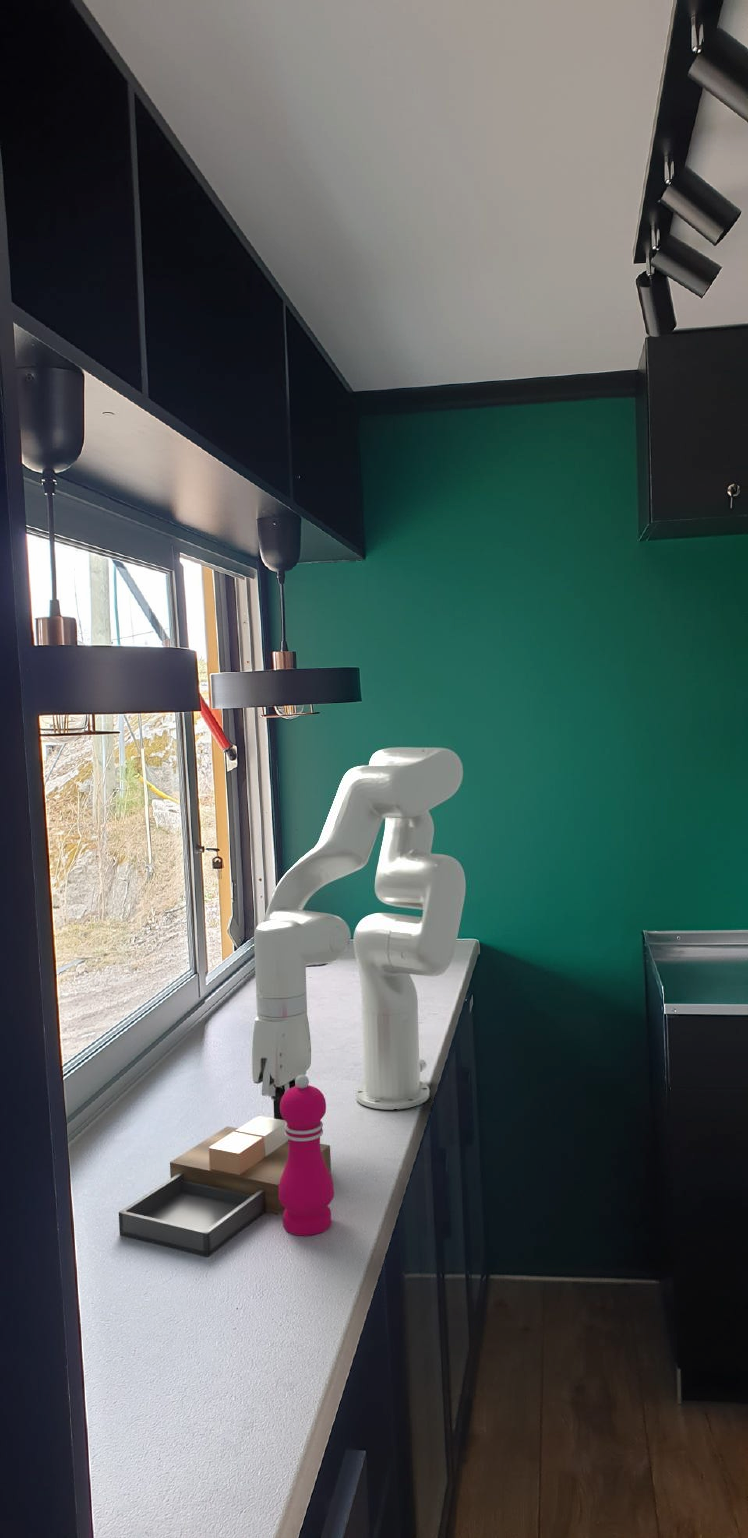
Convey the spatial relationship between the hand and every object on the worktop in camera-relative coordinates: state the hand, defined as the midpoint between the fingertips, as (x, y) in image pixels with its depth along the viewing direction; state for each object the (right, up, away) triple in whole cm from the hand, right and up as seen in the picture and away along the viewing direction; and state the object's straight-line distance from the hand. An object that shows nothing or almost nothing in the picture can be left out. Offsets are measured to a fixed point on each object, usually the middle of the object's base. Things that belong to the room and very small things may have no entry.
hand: (286, 1123), depth 167 cm
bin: (-11, -7, -20) cm, 24 cm away
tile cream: (-3, -1, -6) cm, 7 cm away
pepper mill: (+5, -6, -22) cm, 23 cm away
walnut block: (-4, -6, -8) cm, 11 cm away
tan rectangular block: (-6, -2, -11) cm, 13 cm away
